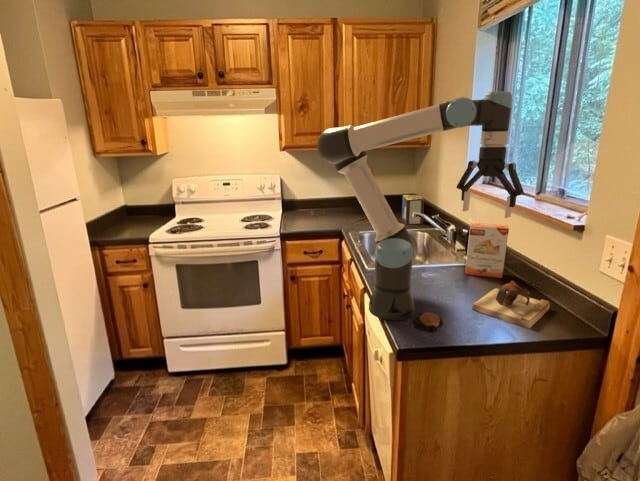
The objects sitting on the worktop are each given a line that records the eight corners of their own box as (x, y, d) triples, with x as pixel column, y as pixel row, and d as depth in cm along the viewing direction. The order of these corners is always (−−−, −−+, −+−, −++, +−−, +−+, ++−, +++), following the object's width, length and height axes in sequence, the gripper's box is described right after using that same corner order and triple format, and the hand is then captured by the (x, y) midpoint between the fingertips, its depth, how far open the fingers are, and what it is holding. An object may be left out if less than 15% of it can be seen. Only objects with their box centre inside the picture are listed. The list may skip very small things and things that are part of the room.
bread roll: (419, 315, 129) (420, 304, 128) (445, 321, 124) (446, 310, 123) (408, 329, 120) (409, 318, 119) (435, 336, 116) (436, 325, 115)
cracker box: (465, 275, 160) (470, 225, 154) (465, 269, 165) (469, 221, 159) (502, 279, 155) (509, 228, 149) (501, 273, 160) (507, 224, 154)
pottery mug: (495, 295, 137) (510, 276, 135) (519, 313, 133) (535, 294, 131) (490, 300, 127) (506, 280, 124) (517, 319, 123) (534, 299, 120)
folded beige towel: (472, 309, 131) (472, 302, 130) (494, 293, 142) (495, 286, 142) (529, 328, 118) (530, 320, 117) (549, 308, 130) (550, 301, 129)
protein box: (417, 218, 253) (418, 194, 249) (422, 224, 239) (424, 199, 234) (401, 218, 254) (402, 194, 249) (405, 224, 239) (406, 199, 234)
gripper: (449, 145, 125) (444, 210, 131) (532, 147, 108) (522, 222, 114) (460, 144, 130) (455, 206, 136) (541, 146, 113) (531, 217, 119)
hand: (485, 213), depth 125 cm, fingers open, 13 cm apart
